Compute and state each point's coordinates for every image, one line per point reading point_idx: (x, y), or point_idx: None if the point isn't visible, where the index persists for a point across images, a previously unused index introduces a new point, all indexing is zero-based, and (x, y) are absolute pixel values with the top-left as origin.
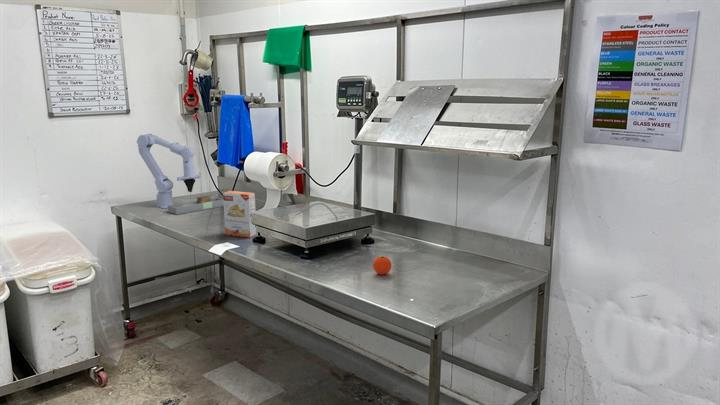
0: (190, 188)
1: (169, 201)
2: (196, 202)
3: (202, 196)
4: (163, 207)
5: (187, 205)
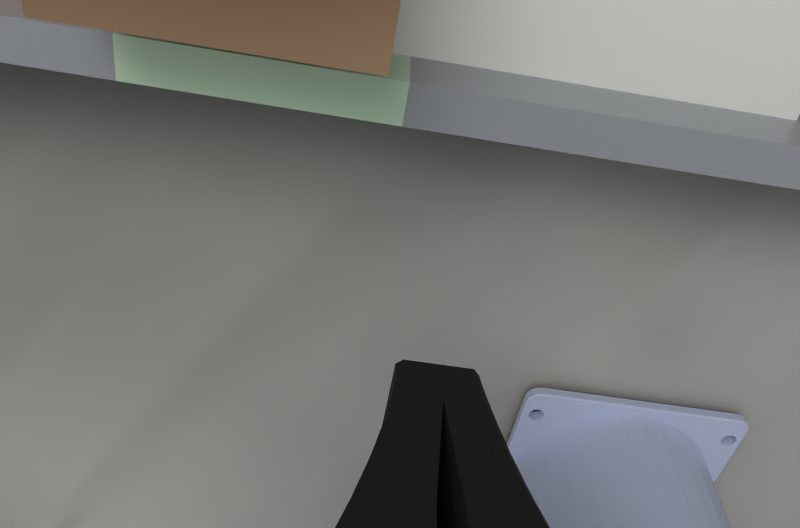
0: (483, 451)
1: (655, 490)
2: None
3: (176, 25)
4: (734, 436)
5: (667, 71)
